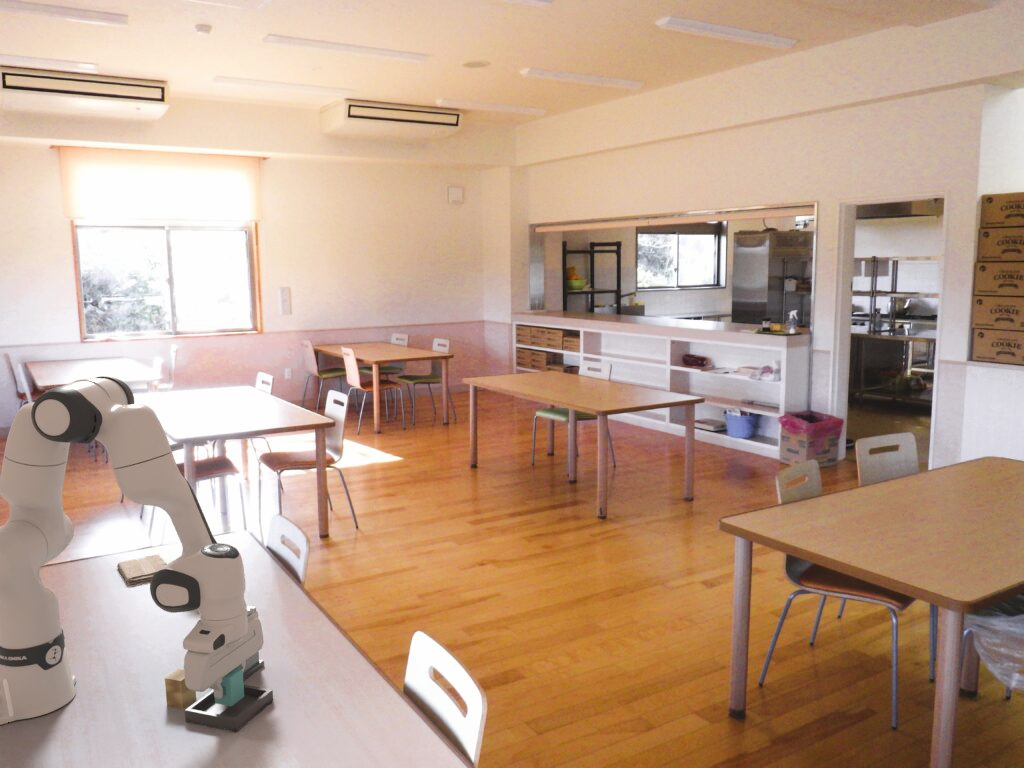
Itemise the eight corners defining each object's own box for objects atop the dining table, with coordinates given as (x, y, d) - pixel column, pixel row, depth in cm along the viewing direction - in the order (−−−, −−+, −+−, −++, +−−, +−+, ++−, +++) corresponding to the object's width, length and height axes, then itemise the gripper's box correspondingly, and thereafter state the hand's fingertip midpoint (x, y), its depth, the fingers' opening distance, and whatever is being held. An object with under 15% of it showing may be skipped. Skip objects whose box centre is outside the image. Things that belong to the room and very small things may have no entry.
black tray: (185, 721, 163) (184, 710, 163) (224, 692, 175) (223, 680, 174) (236, 732, 160) (235, 720, 159) (273, 701, 171) (272, 689, 170)
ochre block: (166, 705, 170) (164, 678, 169) (180, 695, 173) (178, 669, 172) (182, 708, 168) (180, 681, 167) (196, 698, 172) (194, 671, 171)
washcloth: (128, 588, 232) (127, 577, 232) (115, 569, 247) (115, 559, 246) (172, 578, 239) (172, 568, 239) (158, 561, 254) (157, 551, 253)
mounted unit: (209, 684, 178) (205, 622, 175) (241, 661, 188) (237, 602, 186) (233, 689, 176) (229, 626, 174) (264, 665, 186) (260, 605, 184)
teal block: (215, 703, 165) (213, 675, 165) (227, 693, 169) (226, 665, 168) (231, 706, 164) (229, 678, 163) (244, 696, 168) (242, 668, 167)
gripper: (243, 602, 175) (247, 663, 177) (176, 645, 156) (181, 713, 158) (269, 606, 173) (272, 668, 175) (203, 649, 154) (208, 718, 156)
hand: (228, 690), depth 166 cm, fingers closed on teal block, 4 cm apart
